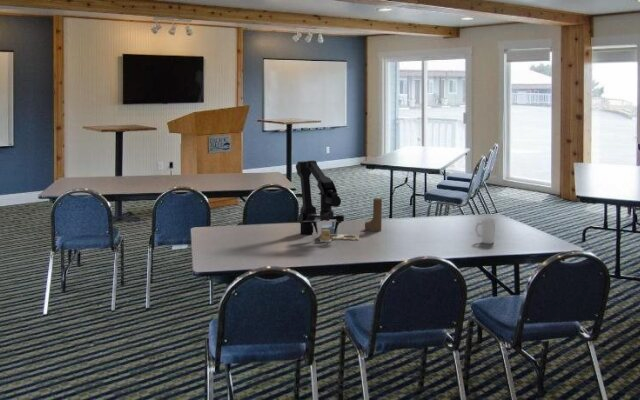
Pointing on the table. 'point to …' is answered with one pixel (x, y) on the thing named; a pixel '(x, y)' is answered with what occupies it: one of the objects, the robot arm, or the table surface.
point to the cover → (330, 228)
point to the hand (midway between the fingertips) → (325, 234)
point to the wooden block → (375, 216)
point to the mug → (486, 230)
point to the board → (342, 237)
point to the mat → (325, 240)
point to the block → (325, 234)
